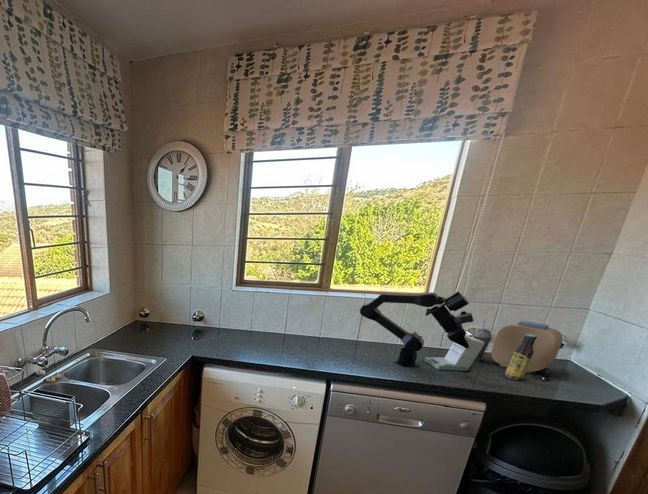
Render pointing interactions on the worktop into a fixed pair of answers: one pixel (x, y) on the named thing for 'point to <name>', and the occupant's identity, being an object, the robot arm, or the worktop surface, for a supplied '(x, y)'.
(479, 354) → the beverage cup
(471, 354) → the white packaging box
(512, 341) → the beige toaster
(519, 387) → the worktop surface
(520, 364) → the sauce bottle
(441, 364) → the kitchen scale
